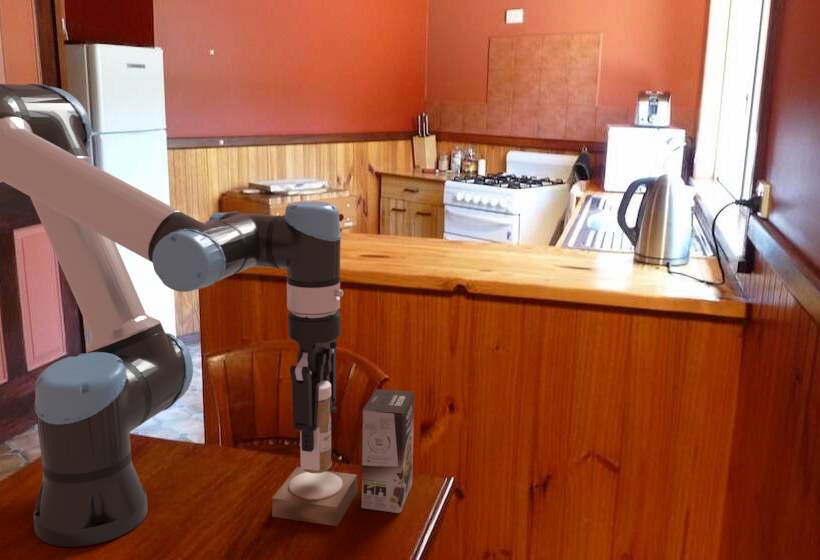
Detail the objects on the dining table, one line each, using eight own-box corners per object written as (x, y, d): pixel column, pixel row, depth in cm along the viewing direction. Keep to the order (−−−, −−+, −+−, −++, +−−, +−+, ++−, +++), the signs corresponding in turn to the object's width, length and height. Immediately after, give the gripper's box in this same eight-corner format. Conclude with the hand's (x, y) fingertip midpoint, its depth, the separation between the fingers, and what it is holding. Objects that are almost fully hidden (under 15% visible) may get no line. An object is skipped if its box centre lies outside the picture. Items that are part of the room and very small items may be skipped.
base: (272, 516, 108) (271, 495, 108) (297, 483, 118) (297, 464, 117) (337, 526, 106) (336, 504, 106) (357, 492, 116) (357, 472, 115)
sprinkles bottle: (334, 472, 109) (334, 387, 106) (304, 476, 108) (302, 390, 105) (328, 458, 114) (327, 376, 110) (298, 462, 112) (297, 379, 109)
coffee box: (401, 514, 110) (403, 413, 106) (360, 509, 111) (360, 409, 107) (413, 484, 118) (416, 390, 115) (375, 480, 120) (376, 387, 116)
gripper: (318, 330, 96) (320, 492, 101) (357, 297, 113) (357, 438, 118) (264, 325, 98) (269, 485, 103) (310, 294, 114) (312, 433, 120)
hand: (316, 460), depth 110 cm, fingers closed on sprinkles bottle, 4 cm apart
